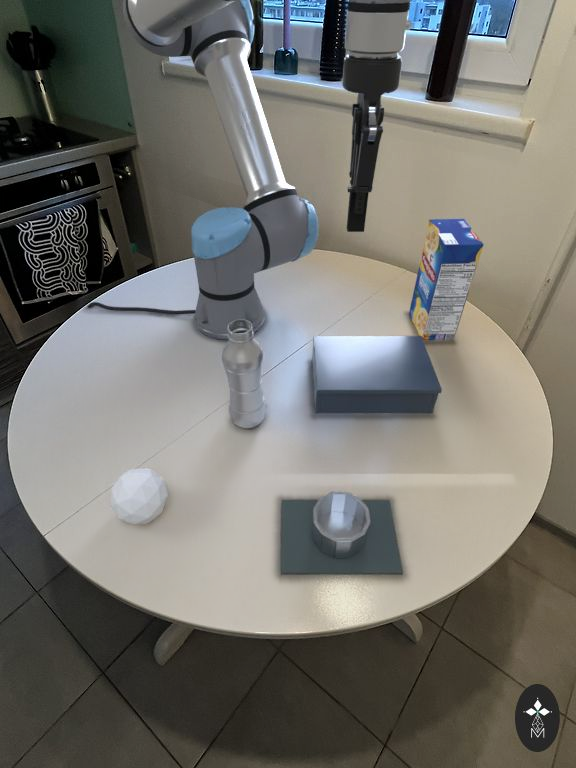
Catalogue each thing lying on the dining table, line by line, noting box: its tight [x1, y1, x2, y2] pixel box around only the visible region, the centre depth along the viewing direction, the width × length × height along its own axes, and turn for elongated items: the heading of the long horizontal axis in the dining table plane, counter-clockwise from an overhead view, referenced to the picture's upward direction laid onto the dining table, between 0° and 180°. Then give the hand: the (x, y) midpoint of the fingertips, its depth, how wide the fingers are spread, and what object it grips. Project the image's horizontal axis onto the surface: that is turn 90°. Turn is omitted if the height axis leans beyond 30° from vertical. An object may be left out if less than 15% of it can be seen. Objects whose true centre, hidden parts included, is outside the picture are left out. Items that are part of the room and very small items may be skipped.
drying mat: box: [280, 499, 404, 575], centre depth 63 cm, size 16×11×1 cm
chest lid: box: [312, 335, 443, 394], centre depth 80 cm, size 15×21×1 cm
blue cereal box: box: [408, 218, 485, 341], centre depth 91 cm, size 7×11×22 cm, turn 2°
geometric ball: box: [109, 467, 169, 525], centre depth 64 cm, size 8×8×8 cm
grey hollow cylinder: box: [312, 490, 370, 558], centre depth 61 cm, size 7×7×5 cm
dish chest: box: [311, 344, 440, 414], centre depth 83 cm, size 15×21×6 cm
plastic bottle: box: [221, 319, 268, 429], centre depth 72 cm, size 6×7×20 cm
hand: (355, 229), depth 74 cm, fingers closed
